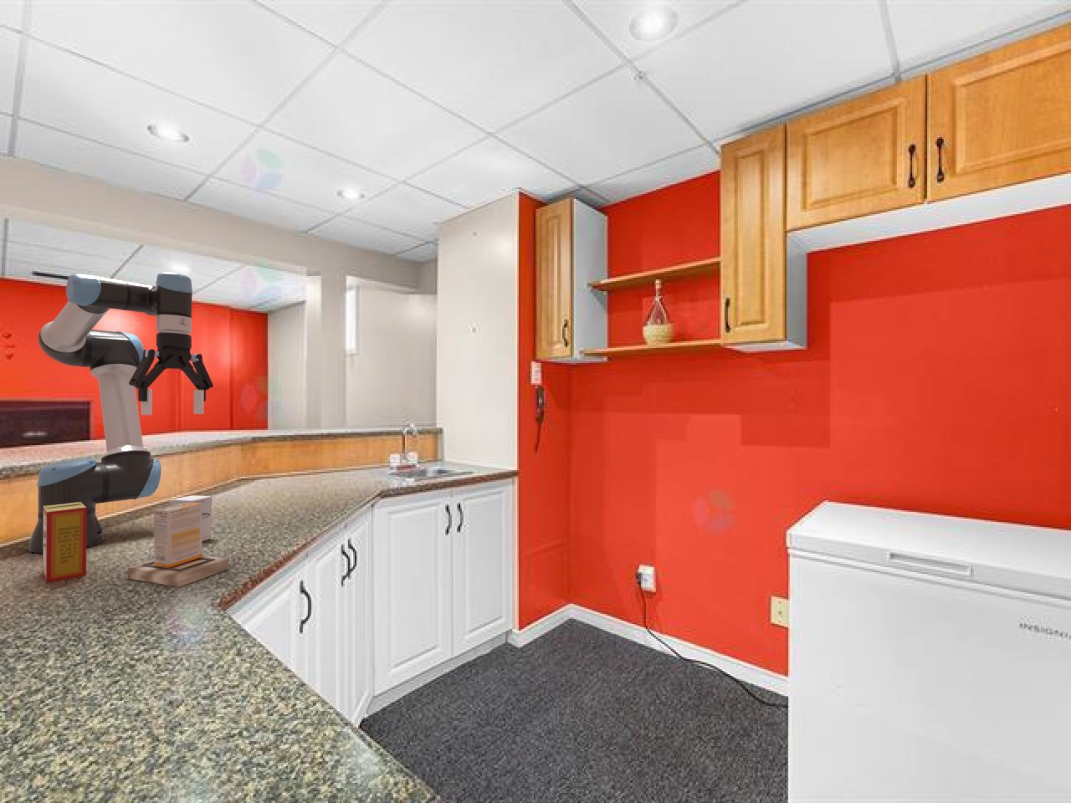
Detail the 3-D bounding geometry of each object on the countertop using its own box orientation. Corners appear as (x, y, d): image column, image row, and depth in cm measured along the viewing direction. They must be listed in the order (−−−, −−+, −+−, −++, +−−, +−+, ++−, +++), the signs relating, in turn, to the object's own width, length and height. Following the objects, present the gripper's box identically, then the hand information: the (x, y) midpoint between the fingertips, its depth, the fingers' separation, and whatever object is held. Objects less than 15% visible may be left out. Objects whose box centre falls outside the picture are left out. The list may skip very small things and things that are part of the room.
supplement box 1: (190, 546, 138) (190, 500, 138) (167, 544, 139) (168, 499, 139) (212, 539, 145) (212, 495, 145) (191, 537, 146) (191, 494, 146)
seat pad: (127, 578, 113) (127, 566, 113) (180, 562, 124) (180, 550, 124) (178, 587, 108) (178, 574, 108) (228, 569, 119) (228, 557, 119)
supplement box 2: (188, 555, 120) (188, 501, 120) (202, 557, 119) (203, 503, 119) (152, 566, 113) (152, 508, 113) (167, 568, 111) (168, 510, 111)
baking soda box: (86, 575, 115) (86, 506, 115) (46, 582, 110) (46, 510, 110) (80, 566, 121) (80, 500, 121) (42, 572, 116) (43, 504, 116)
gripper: (132, 325, 117) (132, 415, 117) (227, 338, 141) (227, 413, 141) (111, 327, 120) (110, 415, 120) (208, 339, 143) (207, 413, 143)
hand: (173, 414), depth 130 cm, fingers open, 13 cm apart
